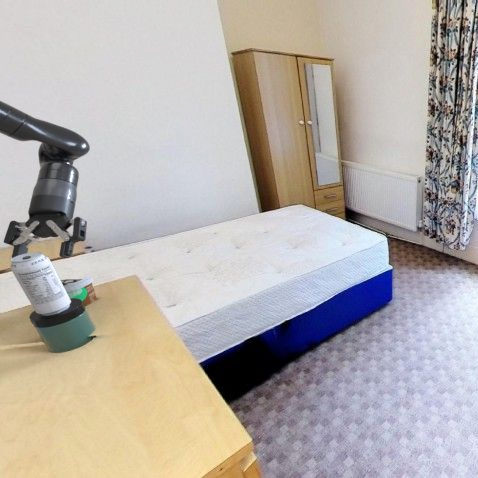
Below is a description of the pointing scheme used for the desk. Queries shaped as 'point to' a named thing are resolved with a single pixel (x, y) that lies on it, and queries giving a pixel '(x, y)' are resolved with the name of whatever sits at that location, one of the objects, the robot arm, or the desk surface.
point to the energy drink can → (40, 283)
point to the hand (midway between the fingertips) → (42, 259)
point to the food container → (80, 289)
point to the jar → (68, 333)
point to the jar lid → (58, 315)
